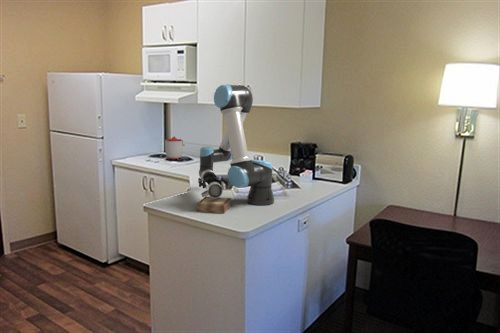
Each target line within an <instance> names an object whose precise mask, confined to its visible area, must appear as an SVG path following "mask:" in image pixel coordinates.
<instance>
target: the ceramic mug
mask: <svg viewBox="0 0 500 333" xmlns="http://www.w3.org/2000/svg"><path fill="white" fill-rule="evenodd" d="M223 191H224V189H223V188H222V187H221V185H220V184H219V183H218V182H212V183H210V184H209V187H208V190H205V191H203V192H201V193H200V195H201V197H203V198H204V197H205V196H206V197H211V198H219V197H220V198H221V196H222V195H223Z"/></svg>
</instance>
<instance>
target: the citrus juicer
mask: <svg viewBox="0 0 500 333" xmlns="http://www.w3.org/2000/svg"><path fill="white" fill-rule="evenodd" d="M164 145H165V146H164V149H165V156H166V157H165V158H166V159H167V158H168V159H167V160H169V159H179V158H181V159H182V157H183V153H184V150H183V149H184V147H185V146H186V144H184V140H183V139H181V138H177V137H175V136H172V137H171V138H169V139H168V138H166V139H164ZM179 160H180V159H179Z"/></svg>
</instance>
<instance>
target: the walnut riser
mask: <svg viewBox="0 0 500 333" xmlns="http://www.w3.org/2000/svg"><path fill="white" fill-rule="evenodd" d="M231 206H232V198H230V197H221V196H220V197H219V198H211V197H210V196H205V197H203V198H202V199H201V200H200V201H198V202H197V203H196V212H200V213H212V214H226V213H227V211H228V210H229V208H231Z"/></svg>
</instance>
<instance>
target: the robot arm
mask: <svg viewBox="0 0 500 333" xmlns="http://www.w3.org/2000/svg"><path fill="white" fill-rule="evenodd" d="M253 99H254V98H253V93H252V92H251V90H250V89H249V88H248V87H247V86H246V85H241V84H240V85H239V84H238V85H237V84H234V85H233V84H222V85H219V86H218V87H217V88H216V89H215V92H214V93H213V102H214V104H215V106H216V107H217V108H219V109H220V114H222V115H223V116H224V121H225V127H226V129H225V131H224V134H223V137H222V140H221V143H220V145H219V147H218V149H217V148H216V149H214V147H213V146H202V147H200V150H199V170H198V175H199V178H198V181H197V182H198V187H199V188H201V187H202V189H206V190H208V187H209V184H210V183H212V182H218V183H219V184H220V185H221V187H222V189H223V191H225V190H226V188H227V187H228V186H229V183H230V184H231V185H232V186H233V187H234V188H238V189H239V188H240V189H242V188H247V187H249V191H248V194H247V197H246V202H247V203H248V204H249V205H254V206H270V205H273V204H274V203H275V197H274V192H273V190H272V189H273V186H272V183H273V164H272V162H271V161H268V160H260V159H252V158H251V157H250V156H249V151H248V146H247V140H246V136H245V130H244V125H243V123H244V122H245V120H246V117H247V114H249V113H250V112H251V110H252V106H253V101H254V100H253ZM228 161H230V163H229V164H230V167H229V168H228V171H227V178H228V179H227V180H226V179H225V178H224V177H221V178H220V177H219V178H218V177H217V175H216V173H215V172H214V163H221V162H228ZM206 190H205V191H206Z"/></svg>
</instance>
